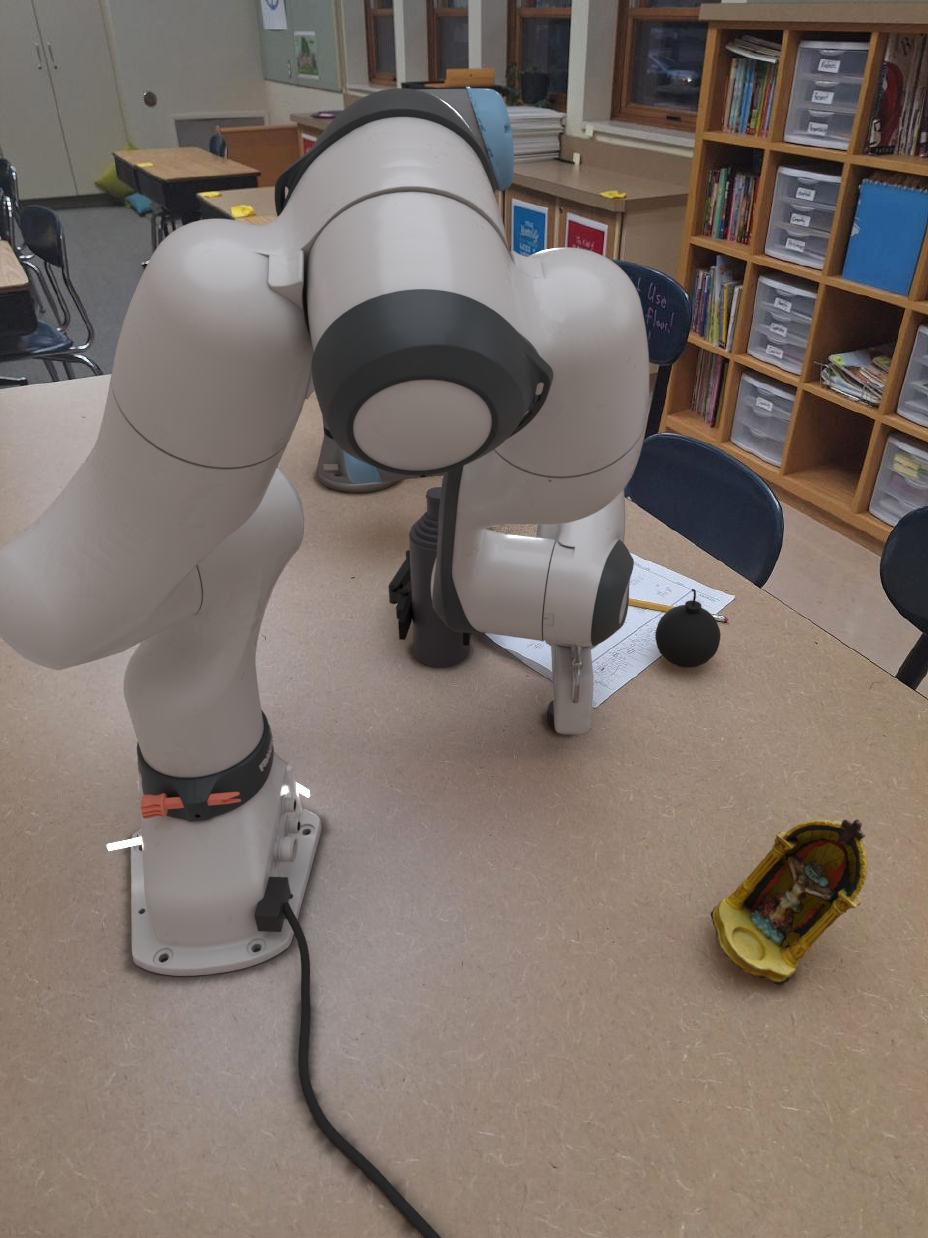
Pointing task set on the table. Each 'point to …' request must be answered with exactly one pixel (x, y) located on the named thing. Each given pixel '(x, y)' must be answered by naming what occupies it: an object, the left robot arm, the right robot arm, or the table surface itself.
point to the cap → (551, 715)
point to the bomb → (688, 635)
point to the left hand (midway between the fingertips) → (565, 708)
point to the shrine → (792, 897)
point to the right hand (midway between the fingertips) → (433, 633)
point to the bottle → (429, 631)
